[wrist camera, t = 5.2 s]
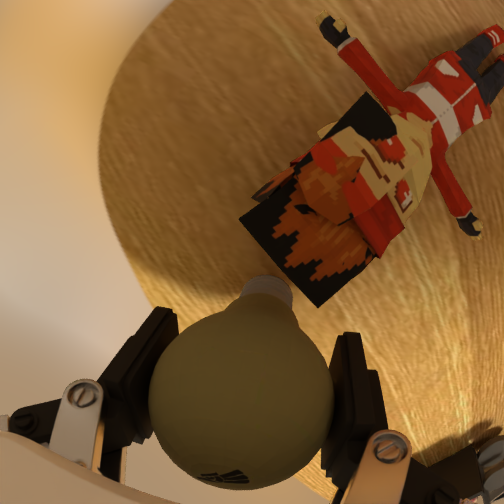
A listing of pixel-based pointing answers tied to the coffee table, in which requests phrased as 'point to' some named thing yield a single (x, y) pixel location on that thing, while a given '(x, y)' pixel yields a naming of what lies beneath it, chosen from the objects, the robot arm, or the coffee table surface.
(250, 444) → the light bulb
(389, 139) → the toy
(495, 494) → the open box
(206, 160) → the coffee table surface
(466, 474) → the character figurine
